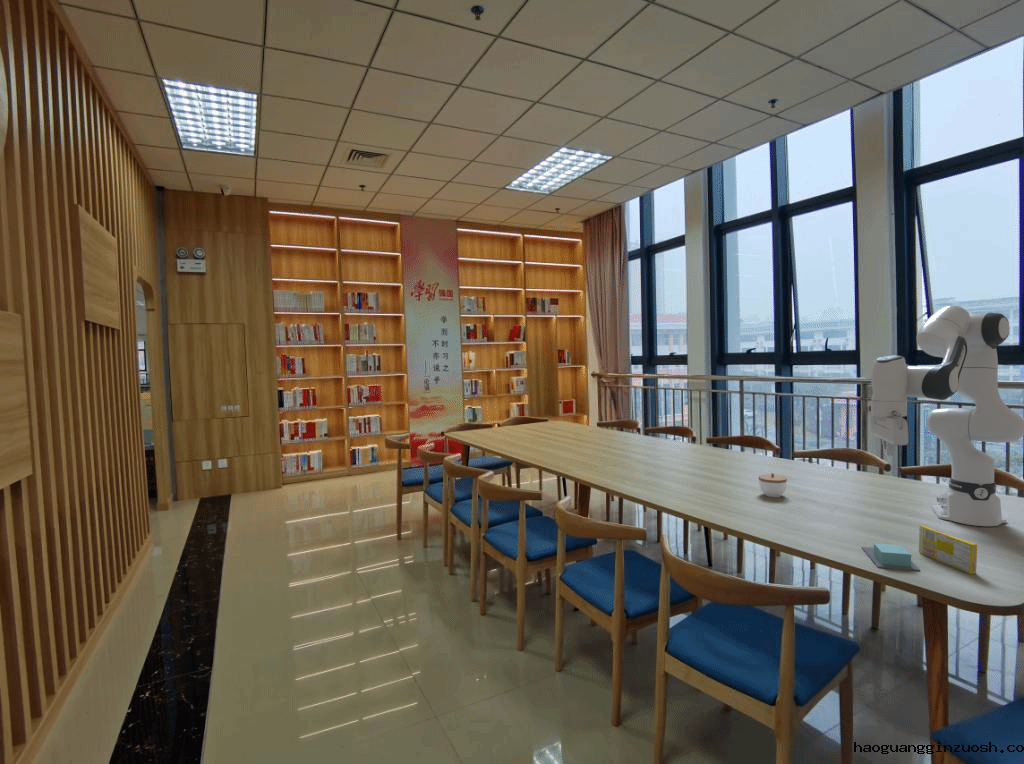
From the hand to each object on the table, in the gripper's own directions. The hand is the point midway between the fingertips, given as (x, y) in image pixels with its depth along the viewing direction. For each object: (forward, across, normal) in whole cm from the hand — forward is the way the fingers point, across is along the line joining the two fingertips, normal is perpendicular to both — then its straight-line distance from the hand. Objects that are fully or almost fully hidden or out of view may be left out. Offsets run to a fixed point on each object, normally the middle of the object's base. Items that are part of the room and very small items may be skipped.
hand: (888, 454), depth 158 cm
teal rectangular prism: (+27, -8, +2) cm, 28 cm away
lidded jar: (+29, +55, +25) cm, 67 cm away
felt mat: (+29, -9, +2) cm, 31 cm away
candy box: (+30, -8, -12) cm, 33 cm away
